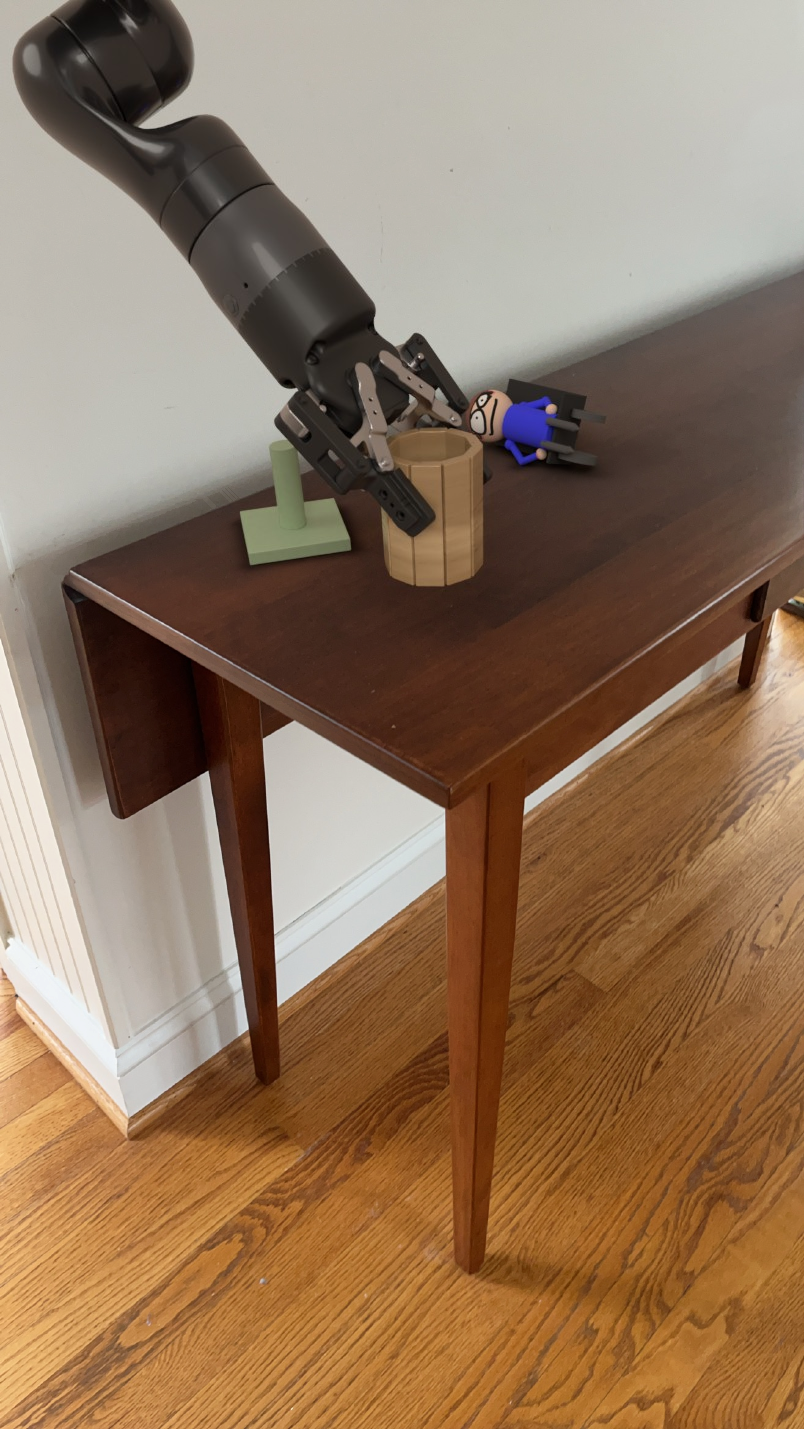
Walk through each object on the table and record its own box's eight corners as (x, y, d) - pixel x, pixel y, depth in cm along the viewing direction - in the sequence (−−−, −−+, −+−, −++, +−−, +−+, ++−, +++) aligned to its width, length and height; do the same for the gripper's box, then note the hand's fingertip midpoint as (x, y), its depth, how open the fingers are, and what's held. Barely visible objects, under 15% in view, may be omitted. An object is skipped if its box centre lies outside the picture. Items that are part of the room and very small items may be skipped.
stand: (250, 565, 89) (235, 471, 84) (241, 522, 97) (226, 433, 91) (351, 550, 91) (342, 457, 85) (335, 509, 98) (326, 420, 93)
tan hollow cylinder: (397, 593, 64) (390, 472, 59) (377, 548, 69) (370, 433, 64) (493, 579, 65) (493, 458, 60) (466, 536, 70) (465, 421, 65)
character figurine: (574, 491, 99) (458, 456, 108) (618, 462, 102) (503, 430, 111) (573, 414, 94) (452, 384, 103) (619, 386, 97) (499, 359, 106)
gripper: (233, 273, 54) (429, 520, 56) (382, 221, 64) (546, 433, 66) (177, 361, 60) (357, 584, 61) (322, 301, 70) (474, 495, 71)
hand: (454, 505), depth 63 cm, fingers closed on tan hollow cylinder, 6 cm apart
